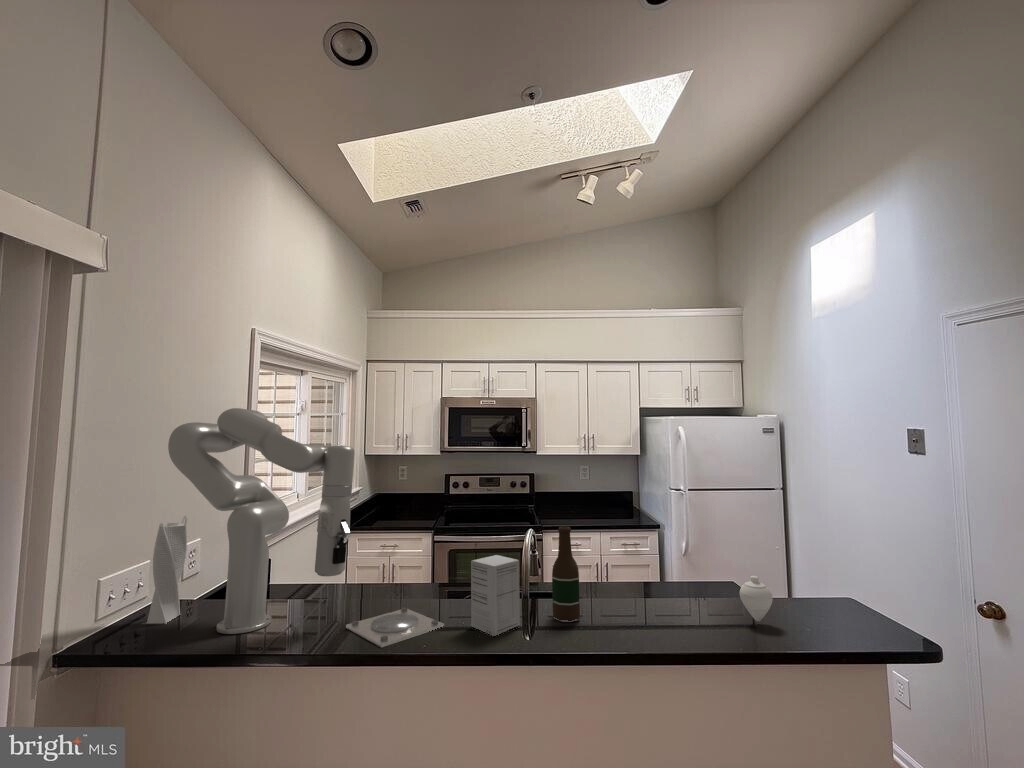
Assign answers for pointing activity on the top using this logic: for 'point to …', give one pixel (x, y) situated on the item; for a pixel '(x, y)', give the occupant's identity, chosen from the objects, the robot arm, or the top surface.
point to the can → (327, 555)
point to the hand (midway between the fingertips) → (331, 559)
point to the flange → (393, 627)
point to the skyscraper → (168, 571)
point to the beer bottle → (565, 580)
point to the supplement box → (495, 594)
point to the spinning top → (756, 598)
